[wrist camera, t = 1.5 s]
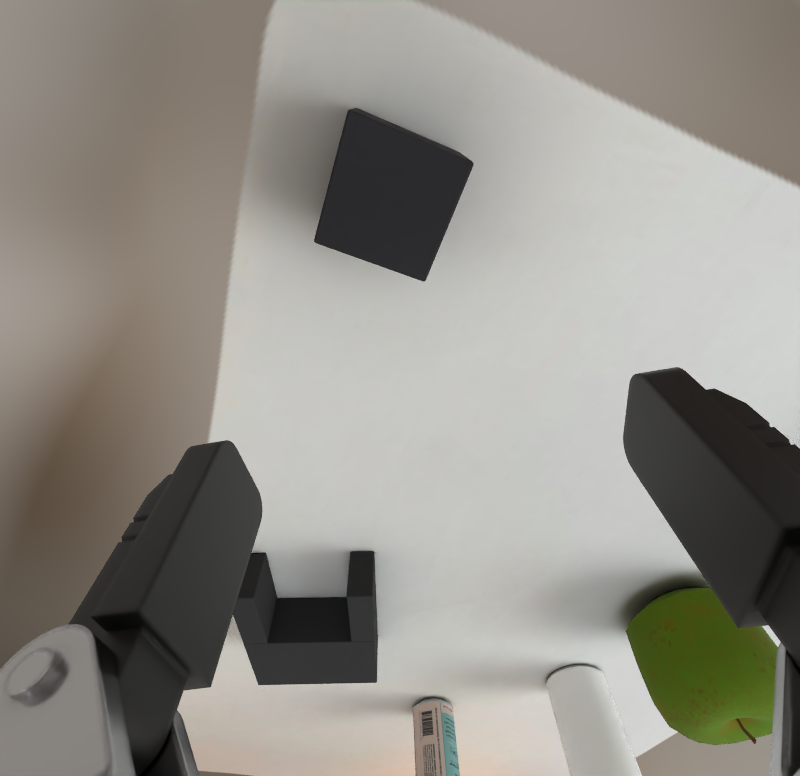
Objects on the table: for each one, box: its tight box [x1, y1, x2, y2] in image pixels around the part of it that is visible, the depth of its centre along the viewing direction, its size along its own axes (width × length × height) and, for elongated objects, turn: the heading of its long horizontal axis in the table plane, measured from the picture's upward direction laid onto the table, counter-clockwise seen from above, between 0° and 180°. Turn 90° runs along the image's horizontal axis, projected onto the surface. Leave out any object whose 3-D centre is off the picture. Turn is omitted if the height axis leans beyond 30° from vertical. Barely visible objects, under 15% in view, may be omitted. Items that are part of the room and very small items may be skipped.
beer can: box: [413, 698, 460, 776], centre depth 48 cm, size 5×5×12 cm
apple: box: [626, 588, 778, 745], centre depth 38 cm, size 11×11×11 cm
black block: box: [314, 108, 473, 281], centre depth 20 cm, size 5×5×4 cm
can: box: [547, 665, 642, 776], centre depth 45 cm, size 6×6×12 cm
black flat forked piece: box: [233, 552, 378, 685], centre depth 39 cm, size 14×11×4 cm
